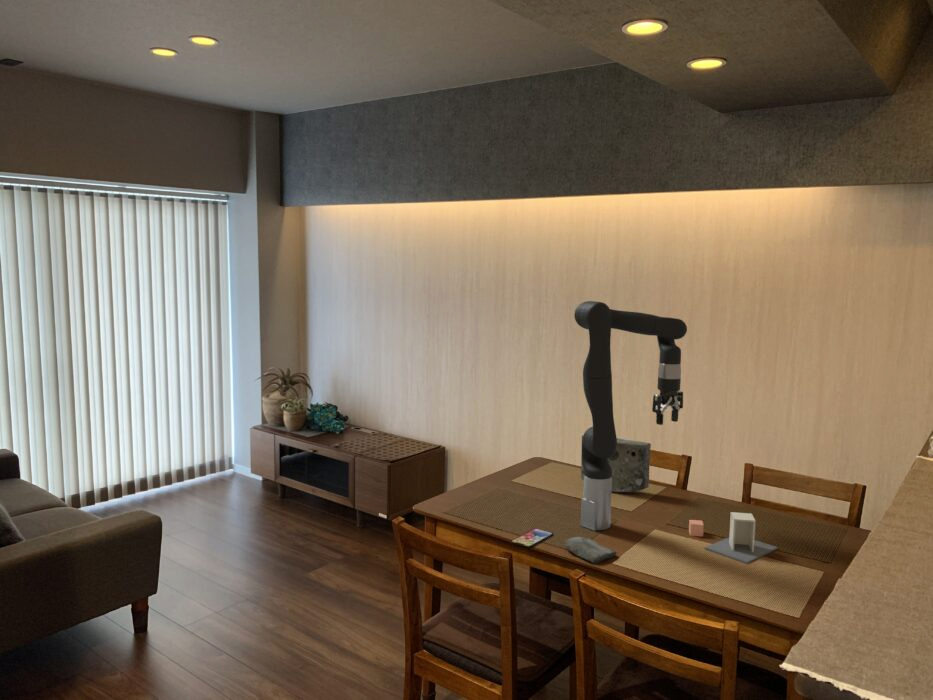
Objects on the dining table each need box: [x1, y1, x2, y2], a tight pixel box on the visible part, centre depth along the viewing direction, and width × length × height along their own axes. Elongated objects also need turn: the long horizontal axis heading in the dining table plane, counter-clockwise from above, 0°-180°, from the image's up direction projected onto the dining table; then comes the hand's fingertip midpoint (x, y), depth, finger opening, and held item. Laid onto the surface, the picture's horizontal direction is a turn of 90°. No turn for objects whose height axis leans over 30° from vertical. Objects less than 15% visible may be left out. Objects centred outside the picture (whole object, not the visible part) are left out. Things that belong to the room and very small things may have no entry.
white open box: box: [728, 511, 757, 552], centre depth 224 cm, size 6×6×10 cm
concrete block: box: [580, 435, 652, 493], centre depth 281 cm, size 27×9×20 cm, turn 55°
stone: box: [564, 536, 618, 565], centre depth 220 cm, size 11×4×15 cm
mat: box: [704, 536, 779, 565], centre depth 224 cm, size 18×14×1 cm
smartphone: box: [510, 528, 554, 549], centre depth 232 cm, size 7×1×15 cm
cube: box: [688, 519, 705, 537], centre depth 237 cm, size 4×4×4 cm
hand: (667, 422), depth 250 cm, fingers open, 8 cm apart
